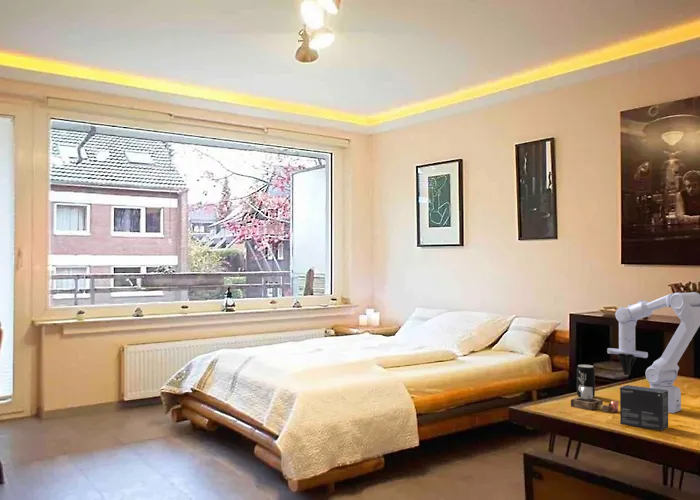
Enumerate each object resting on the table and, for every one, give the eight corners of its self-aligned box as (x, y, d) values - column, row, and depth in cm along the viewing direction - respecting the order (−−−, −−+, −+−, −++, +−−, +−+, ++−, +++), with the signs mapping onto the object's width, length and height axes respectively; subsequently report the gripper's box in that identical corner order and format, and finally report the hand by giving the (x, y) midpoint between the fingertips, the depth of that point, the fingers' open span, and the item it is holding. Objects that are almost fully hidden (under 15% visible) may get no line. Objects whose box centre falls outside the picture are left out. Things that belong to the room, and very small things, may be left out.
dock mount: (616, 409, 218) (616, 402, 218) (606, 413, 213) (606, 406, 213) (581, 403, 228) (581, 396, 228) (570, 406, 223) (570, 399, 223)
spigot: (594, 407, 222) (594, 387, 222) (588, 408, 220) (588, 389, 220) (585, 404, 225) (585, 385, 225) (578, 406, 223) (578, 387, 223)
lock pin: (619, 412, 215) (619, 401, 215) (616, 413, 213) (616, 402, 213) (594, 407, 221) (594, 397, 221) (591, 408, 220) (591, 398, 220)
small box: (669, 427, 196) (669, 389, 196) (663, 431, 190) (663, 393, 191) (626, 419, 204) (626, 384, 205) (619, 423, 199) (619, 387, 199)
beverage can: (596, 398, 235) (596, 367, 236) (578, 397, 237) (578, 366, 237) (593, 395, 242) (592, 364, 242) (575, 394, 243) (575, 364, 243)
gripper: (603, 337, 235) (603, 373, 235) (642, 341, 225) (642, 378, 224) (611, 336, 240) (612, 370, 240) (650, 340, 229) (650, 376, 229)
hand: (627, 374), depth 232 cm, fingers closed
